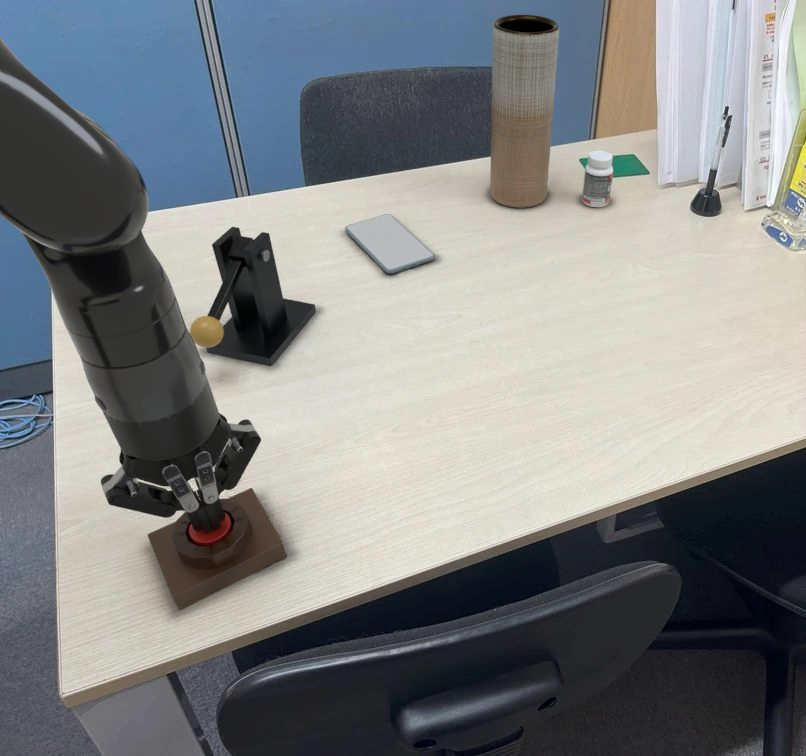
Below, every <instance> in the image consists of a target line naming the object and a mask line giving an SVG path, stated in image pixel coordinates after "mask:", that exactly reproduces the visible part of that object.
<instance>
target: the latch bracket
mask: <svg viewBox="0 0 806 756" xmlns="http://www.w3.org/2000/svg"><path fill="white" fill-rule="evenodd" d="M236 235H238V236H242V234H241V230H240V227H238V226H237V227H236V226H231V227H230V228H229V229H227V230H226V231H225V232H224V233H223V234H222V235H221V236H219V237H218V238H217V239H216V240H215V241H214V242H213V243H212V244H211V246H212V249H213V254H214V257H215V261H216V265H217V268H218V272H219V275H220V279H221V282H222V283H223V281H224V279H225V277H226V275H227V272H228V270H229V268H230V266H231V264H232V262H233V261H232V260H231V258H230V257H229V256H228V255H227V254H228V252H229V250H230V248H231V245H232V243H233V241H234V239H235V237H236ZM243 253H244V257H245V261H246V265H247V267H244V268H243V270H242V273H241V275H240V277H239V279H238V281H237V283H236V286H235V288H234V290H233V292H232V294H231V297H230V299H229V301H228V303H227V305H228V308H229V310H230V315H231V317H230V318H229V319H228V320H227V321H226V323H225V324H224V325H222V326H223V328H224V336H223V339H222V340H221V342H220V343H219V344H217V345H216V346H213V347H209V348H206V347H205V348H206V352H207V353H210V354H215V355H219V356H224V357H228V358H234V359H238V360H243V361H248V362H253V363H256V364H261V365H266V366H270V367H271V366H273V365H274V364H275V363H276V361H277V360H278V359H279V358H280V356H281V355H282V354H283V353H284V351H285V350H286V349H287V348H288V346H290V344H291V343H292V341H293V340H294V339H295V338H296V336H297V335H298V334H299V333H300V332H301V331H302V329H303V328H304V327H305V325H306V324H307V323H308V322H309V320H311V319H312V317H313V316H314V314H315V313H316V312H317V309H316V305H315V304H314V303H311V302H310V303H309V302H304V301H299V300H294V299H289V298H284V295H283V291H282V285H281V282H280V277H279V273H278V268H277V263H276V259H275V254H274V249H273V245H272V240H271V236H270V233H269V232H265V231H262V232H260V233H259V234H258V235H257V236H256V237H255V238H253V241H252V242H251V243H250V244H249V245H248V246H247V247H246V248H244V249H243ZM222 283H221V284H222Z"/></svg>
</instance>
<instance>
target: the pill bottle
mask: <svg viewBox="0 0 806 756" xmlns="http://www.w3.org/2000/svg"><path fill="white" fill-rule="evenodd" d="M613 158H614V155H613V154H612V153H611V152H609V151H606V150H593V151H592V150H591V152H589V153H588V157H587V164H586V165H585V168H584V175H583V176H584V177H583V186H582V195H581V202H582V203H583V204H584V205H586V206H588V207H592V208H603V207H606V206H608V205H609V203H610V198H611V191H612V184H613V177H614V166H613Z"/></svg>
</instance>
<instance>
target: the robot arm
mask: <svg viewBox="0 0 806 756" xmlns="http://www.w3.org/2000/svg"><path fill="white" fill-rule="evenodd" d="M148 213H149V194H148V190H147V185H146V183H145V180H144V177H143V175H142V173H141V172H140V170H139V168H138V166H137V165H136V163H135V162H134V161H133V159H132V158H131V157H130V156H129V155H128V153H126V151H125V150H124V149H123V148H121V146H120V145H119V144H118V142H116V141H115V140H114V138H113V137H112V136H111V135H110V134H109V133H108V131H106V130H105V129H104V128H103V127H102V126H101V125H100V123H98V122H97V121H96V120H94V119H93V118H92V117H91V116H89V115H87V114H86V113H84V112H83V111H81V110H78V109H77V108H74V107H72V106H71V105H70V104H69V103H67V101H65V100H64V99H63V98H62V97H61V96H59V94H57V93H56V92H55V91H54V90H53V89H52V88H51V87H49V86H48V85H47V84H46V83H45V82H44V81H43V80H41V78H39V77H38V76H37V75H36V74H35V73H34V72H32V70H31V69H29V68H28V67H27V66H26V65H24V63H22V61H21V60H19V58H18V57H17V56H16V55H15V54H14V52H12V50H11V49H10V48H9V46H8V44H6V42H5V41H4V40H3V38H2V37H0V217H2V219H4V220H5V221H7V222H8V223H9V224H11V225H12V226H13V227H14V228H16V229H17V230H18V231H20V232H21V234H22V235H23V237H24V239H25V241H26V243H27V245H28V246H29V248H30V250H31V252H32V253H33V255H34V257H35V259H36V260H37V262H38V264H39V265H40V267H41V269H42V271H43V273H44V275H45V277H46V279H47V281H48V284H49V287H50V289H51V292H52V295H53V299H54V301H55V304H56V307H57V310H58V313H59V315H60V317H61V320H62V323H63V324H64V326H65V328H66V330H67V332H68V335H69V336H70V339H71V341H72V343H73V346H74V347H75V350H76V351H77V353H78V355H79V358H80V360H81V363H82V367H83V371H84V374H85V376H86V380H87V382H88V385H89V387H90V390H91V391H92V393H93V396H94V400H95V402H96V404H97V406H98V407H99V408H100V409H101V411H102V414H103V415H104V418H105V419H106V422H107V423H108V426H109V428H110V430H111V431H112V434H113V436H114V438H115V440H116V442H117V444H118V446H119V448H120V453H119V456H118V460H119V461H118V462H119V463H120V465H121V466H120V467H119V468H118V469H117V471H116V472H115V473H114V474H112V473H110V474H106V475H104V476H102V478H101V479H100V485H101V487H102V491H103V494H104V496H105V498H106V501H107V504H108V505H109V506H113V507H117V508H120V509H126V510H130V511H134V512H138V513H142V514H147V515H151V516H155V517H160V518H164V519H167V518H171V517H173V516H175V515H176V513H177V512H181V511H183V512H184V513H185V512H186V513H187V515H188V518H189V520H190V522H191V524H192V526H193V529H194V530H195V531H197V532H199V531H201V530H204V532H205V534H207V533H209V532H212V531H213V530H216V529H218V528H220V527H221V525H220V521H222V520H225V512H224V510H223V507H222V505H221V502H220V499H221V498H220V495H221V494H222V492H224V491H231V490H233V489H235V488H236V487H237V485H238V484H239V482H240V480H241V479H242V476H243V474H245V471H246V469H247V467H248V466H249V464H250V462H251V460H252V458H253V456H254V455H255V453H256V451H257V450H258V448H259V446H260V444H261V442H262V438H261V436H260V434H259V432H258V431H257V429H256V428H255V426H254V425H253V423H252V421H251V420H250V419H247V418H246V419H242V420H240V421H239V422H238V423H229V422H228V419H227V417H225V416H224V415H223V414H222V413H220V412H219V408H218V406H217V403H216V399H215V397H214V394H213V391H212V388H211V385H210V382H209V379H208V376H207V373H206V364H205V363H204V360H203V359H202V357H201V355H200V353H199V350H198V348H197V344H196V343H195V342H194V340H193V338H192V337H191V335H190V330H188V327H187V325H186V324H185V323H186V322H185V320H184V316H183V314H182V311H181V307H180V305H179V302H178V300H177V296H176V294H175V291H174V288H173V285H172V284H171V281H170V278H169V277H168V274H167V273H166V270H165V268H164V266H163V265H162V264H161V262H160V261H159V258H157V256H156V255H155V254H154V252H153V251H152V250H151V248H150V246H149V245H148V242H147V240H146V238H145V236H144V233H143V229H144V227H145V224H146V221H147V218H148V215H149V214H148ZM192 479H194V482H195V486H196V487H197V489H196V490H194V489H193V488H192V486H191V485H190V483H189V481H190V480H192ZM165 487H166V488H165ZM167 487H169V488H170V490H168V489H167ZM211 526H212V527H211ZM212 528H213V529H212Z"/></svg>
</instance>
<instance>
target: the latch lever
mask: <svg viewBox="0 0 806 756" xmlns="http://www.w3.org/2000/svg"><path fill="white" fill-rule="evenodd" d="M253 240H254V238H253V237H249V236H242V235H241V236H238V235H236V237H235V239H234V241H233V243H232V245H231V248H230V250H229V252H228V254H227V255H228V256H229V257H230V258H231V260H232V261H233V262H232V264H231V266H230V268H229V270H228V272H227V275H226V277H225V279H224V281H223V283H221V285H220V288H219V290H218V291H217V294H216V295H215V298H214V300H213V301H212V302H213V303H212V304H211V307H210V308H209V311H208V313H207V315H202V316H200V317H197V318H196V319H195V320H194V321H193V322H192V323H191V325H190V327H189V333H190V335H191V337H192V338H193V340H194V342H195V345H196V346H199V347H202V348H209V347H213V346H216V345H217V344H219V343H220V342H221V340H222V339H223V336H224V328H223V326H224V325H223V324H222V323H221V321H220V320H221V318H222V316H223V314H224V311H225V310H226V307H227V305H228V301H229V299H230V297H231V294H232V292H233V290H234V288H235V286H236V283H237V281H238V279H239V277H240V275H241V273H242V270H243V268H244V267H247V265H246V261H245V257H244V253H243V249H244V248H246V247H247V246H248V245H249V244H250V243H251V242H252V241H253Z"/></svg>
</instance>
